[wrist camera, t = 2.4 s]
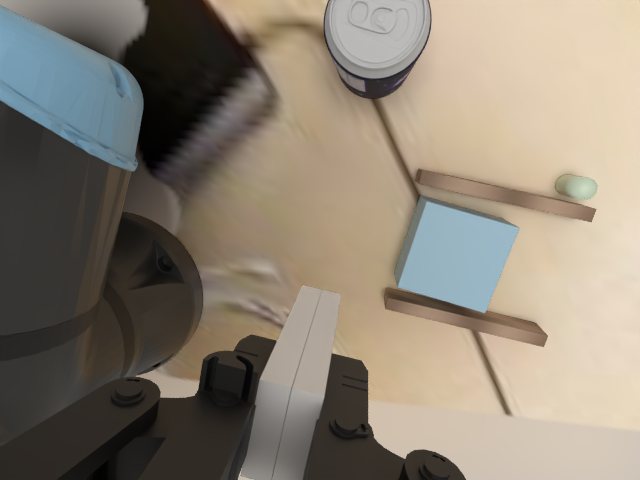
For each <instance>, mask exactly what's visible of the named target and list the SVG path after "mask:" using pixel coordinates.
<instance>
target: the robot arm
mask: <svg viewBox="0 0 640 480" xmlns="http://www.w3.org/2000/svg"><path fill="white" fill-rule="evenodd" d="M143 103H144V102H143V95H142V91H141V89H140V86H139V84H138V82H137V81H136V79H135V78H134V76H133V75H132V74H131V73H130V72H129V71H128V70H127V69H126V68H125V67H123V66H122V65H120V64H119V63H117V62H115V61H114V60H112V59H110V58H108V57H106V56H104V55H101V54H99V53H97V52H95V51H93V50H91V49H89V48H87V47H85V46H83V45H81V44H79V43H77V42H75V41H73V40H71V39H69V38H67V37H65V36H62V35H61V34H59V33H56V32H54V31H52V30H50V29H48V28H46V27H44V26H42V25H40V24H38V23H36V22H34V21H32V20H29V19H28V18H26V17H24V16H21V15H19V14H17V13H15V12H13V11H11V10H9V9H7V8H5V7H3V6H1V5H0V480H238V476H239V473H240V471H241V468H242V471H241V476H244V477H247V478H251V479H254V480H466V479H465V477H464V475H463V474H462V472H461V471H460V470H459V469H458V467H457V466H456V465H455V464H454V463H452V462H451V461H450V460H449V459H447V458H446V457H444V456H442V455H440V454H438V453H436V452H432V451H428V450H414V451H412V452H410V453H409V454H407V456H406V459H403V458H401V457H399V456H398V455H396V454H394V453H392V452H390V451H389V450H387V449H385V448H384V447H383V446H381V445H380V444H379V443H378V442H377V441H376V440H375V439H374V434H373V431H372V428H371V426H370V425H369V424H368V370H367V369H366V367H365V366H364V364H363V362H362V361H361V360H357V359H353V358H349V357H344V356H340V355H336V354H332V348H333V342H334V337H335V331H336V325H337V319H338V313H339V307H340V301H341V295H342V294H338V293H334V292H330V291H326V290H322V289H317V288H313V287H309V286H305V285H302V287H301V290H300V292H299V294H298V296H297V298H296V301H295V303H294V305H293V307H292V309H291V312H290V314H289V316H288V318H287V320H286V323H285V325H284V327H283V329H282V331H281V334H280V336H279V338H278V340H277V341H275V340H271V339H267V338H263V337H259V336H255V335H249V336H247V337H246V338H244V339H242V340H240V341H239V343H238V344H237V346H236V348H235V349H234V351H218V352H215V353H212V354H209V355H208V356H207V357H205V358H204V359H203V364H202V370H201V376H200V383H199V389H198V391H197V393H196V394H195V396H192V397H187V398H160V390H159V388H158V386H157V385H156V384H155V383H153V382H152V381H150V380H147V379H144V378H140V377H135V376H136V375H140V374H143V373H147V372H150V371H152V370H154V369H157V368H159V367H160V366H162V365H164V364H165V363H167V362H168V361H169V360H171V359H172V358H173V357H174V356H175V355H176V354H177V353H178V352H179V351H180V350H181V349H182V348H183V347H184V345H185V344H186V343H187V342H188V341H189V340H190V338H191V337H192V335H193V334H194V332H195V330H196V328H197V326H198V323H199V320H200V317H201V312H202V303H203V296H202V286H201V281H200V278H199V274H198V272H197V269H196V267H195V264H194V262H193V260H192V258H191V257H190V255H189V254H188V252H187V251H186V249H185V248H184V247H183V245H182V244H181V243H180V242H179V241H178V240H177V239H176V238H175V237H174V236H173V235H172V234H171V233H170V232H168V231H167V230H166V229H164V228H163V227H162V226H160V225H159V224H157V223H155V222H153V221H151V220H149V219H147V218H144V217H142V216H139V215H136V214H132V213H127V212H122V211H123V206H124V202H125V198H126V193H127V189H128V185H129V181H130V176H131V172H132V171H135V170H136V168H137V165H138V162H137V159H136V158H135V153H136V147H137V141H138V136H139V130H140V124H141V119H142V113H143ZM321 291H322V292H321ZM242 465H243V466H242ZM272 476H273V477H272Z"/></svg>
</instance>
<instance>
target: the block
mask: <svg viewBox="0 0 640 480" xmlns="http://www.w3.org/2000/svg"><path fill="white" fill-rule="evenodd" d="M518 231H519V227H517V226H515V225H513V224H511V223H510V222H508V221H506V220H504V219H502V218H498V217H495V216H491V215H488V214H484V213H481V212H477V211H474V210H470V209H467V208H463V207H460V206H456V205H453V204H449V203H446V202H442V201H439V200H435V199H432V198H428V197H425V196H421V195H420V198H419V201H418V204H417V207H416V210H415V213H414V216H413V219H412V222H411V225H410V228H409V231H408V234H407V237H406V240H405V243H404V246H403V249H402V251H401V254H400V257H399V260H398V263H397V266H396V269H395V272H394V273H395V278H396V282H397V287H398V288H402V289H405V290H408V291H412V292H415V293H419V294H422V295H425V296H429V297H432V298H436V299H439V300H442V301H446V302H449V303H452V304H456V305H459V306H463V307H466V308H469V309H473V310H476V311H480V312H483V313H485V312H486V310H487V307H488V305H489V302H490V300H491V297H492V295H493V292H494V290H495V287H496V285H497V282H498V280H499V278H500V275H501V273H502V270H503V268H504V265H505V263H506V260H507V258H508V255H509V253H510V250H511V248H512V245H513V243H514V240H515V238H516V236H517V233H518Z"/></svg>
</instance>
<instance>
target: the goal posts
mask: <svg viewBox="0 0 640 480" xmlns="http://www.w3.org/2000/svg"><path fill="white" fill-rule="evenodd" d="M556 190H557V191H558V192H559V193H560V194H562V195H566V196H570V197H573V198H577V199H581V200H587V199H590V198H592V197H593V196H594V195H595V194H596V192H597V183H596V182H595V181H594V180H593V179H591V178H587V177H581V176H574V175H563V176H561V177H560V178H559V179H558V180H557V182H556Z"/></svg>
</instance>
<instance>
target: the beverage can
mask: <svg viewBox="0 0 640 480" xmlns="http://www.w3.org/2000/svg"><path fill="white" fill-rule="evenodd" d="M430 30H431V8H430V3H429V0H329V1H328V4H327V7H326V10H325V15H324V36H325V41H326V44H327V47H328V50H329V52H330V54H331V57H332V59H333V62H334V64H335V66H336V69H337V71H338V74H339V76H340V78H341V80H342V82H343V83H344V85H345V86H346V87H347V88H348V89H349V90H350V91H352V92H353V93H355V94H356V95H358V96H361V97H364V98H380V97H384V96H387V95H389V94H391V93H392V92H394V91H395V90H396V89H398V88H399V87H400V86H401V85H402V83H403V82H404V81H405V79H406V77H407V76H408V74H409V73H410V71H411V69H412V68H413V66H414V65H415V63H416V61H417V60H418V58H419V56H420V55H421V53H422V51H423V50H424V48H425V46H426V43H427V41H428V38H429V34H430Z"/></svg>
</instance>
